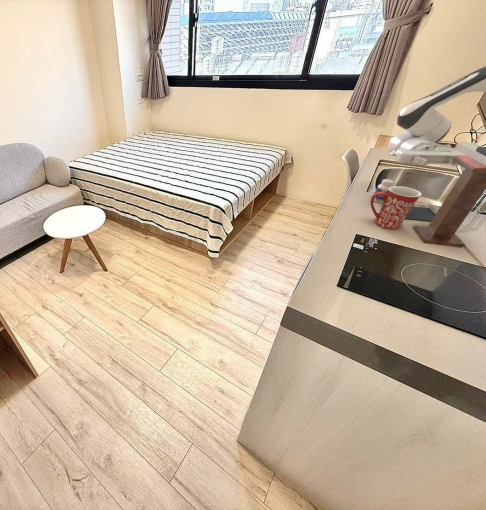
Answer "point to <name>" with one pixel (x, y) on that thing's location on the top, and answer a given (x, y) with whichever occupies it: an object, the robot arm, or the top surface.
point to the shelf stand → (456, 204)
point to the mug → (395, 206)
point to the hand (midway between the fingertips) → (442, 163)
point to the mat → (420, 214)
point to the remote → (473, 151)
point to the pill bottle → (383, 189)
